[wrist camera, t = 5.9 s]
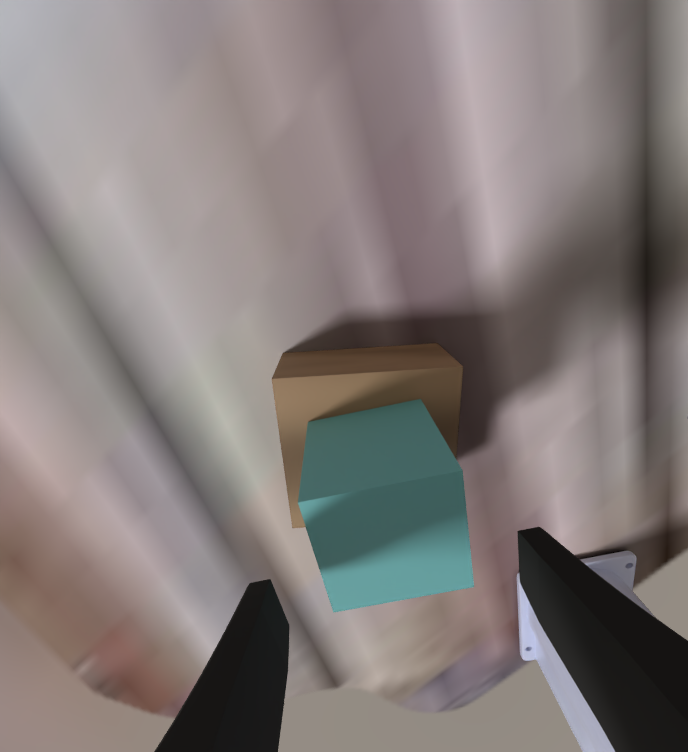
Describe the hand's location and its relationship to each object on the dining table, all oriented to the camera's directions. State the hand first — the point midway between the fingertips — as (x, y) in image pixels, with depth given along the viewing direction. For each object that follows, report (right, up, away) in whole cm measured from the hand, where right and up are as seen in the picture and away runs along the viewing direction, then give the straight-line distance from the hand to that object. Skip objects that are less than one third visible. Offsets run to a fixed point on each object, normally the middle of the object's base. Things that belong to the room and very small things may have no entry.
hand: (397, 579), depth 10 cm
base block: (-1, +4, +10) cm, 10 cm away
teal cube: (0, +2, +6) cm, 6 cm away
